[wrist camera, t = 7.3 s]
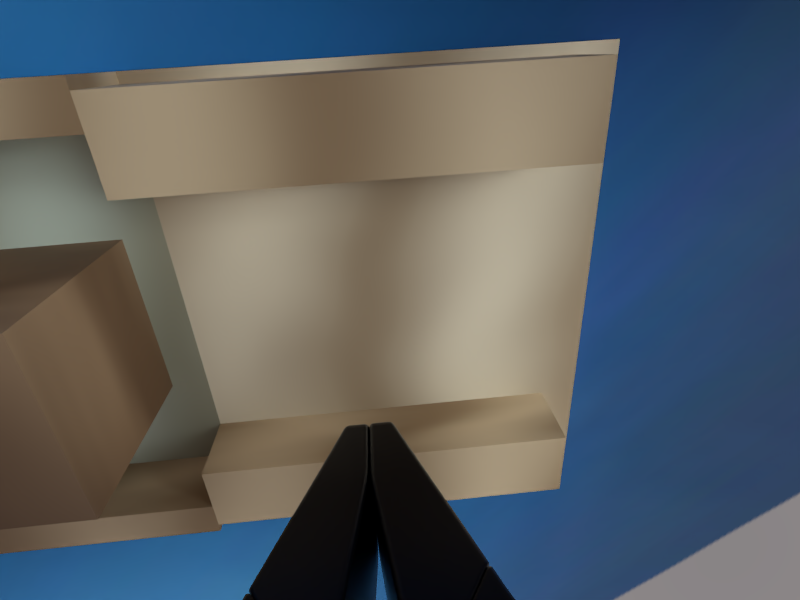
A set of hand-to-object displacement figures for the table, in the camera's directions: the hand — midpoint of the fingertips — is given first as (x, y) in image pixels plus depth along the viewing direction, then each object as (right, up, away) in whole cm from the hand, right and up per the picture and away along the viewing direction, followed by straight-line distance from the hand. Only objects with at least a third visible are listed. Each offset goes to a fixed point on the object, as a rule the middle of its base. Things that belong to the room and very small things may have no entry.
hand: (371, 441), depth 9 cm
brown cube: (-8, +2, +4) cm, 10 cm away
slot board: (-6, +2, +5) cm, 8 cm away
